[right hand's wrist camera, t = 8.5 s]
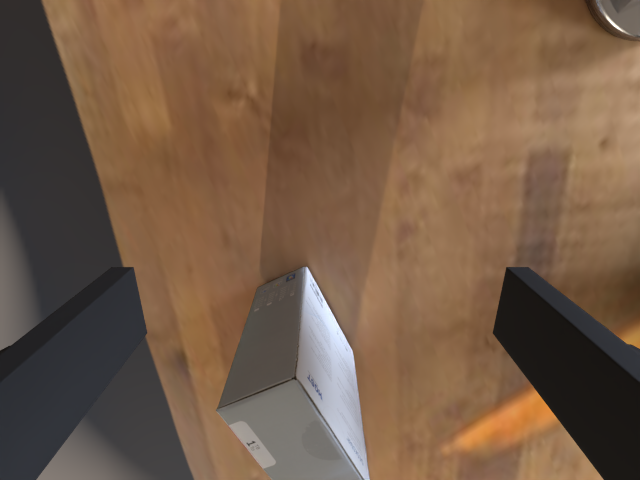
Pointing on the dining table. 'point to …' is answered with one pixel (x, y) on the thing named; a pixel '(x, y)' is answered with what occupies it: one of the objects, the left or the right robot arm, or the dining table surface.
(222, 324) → the dining table surface
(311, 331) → the hard drive box
